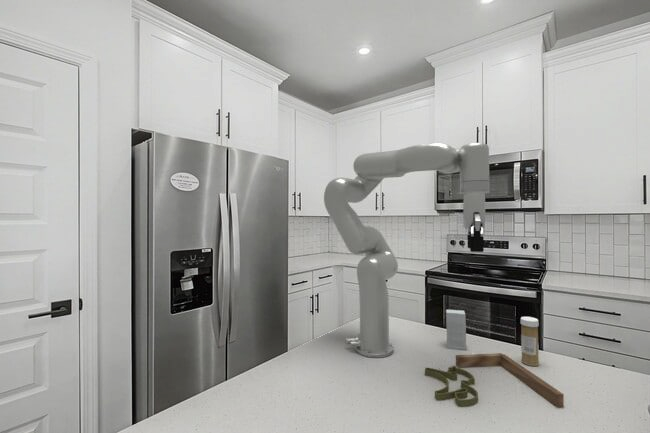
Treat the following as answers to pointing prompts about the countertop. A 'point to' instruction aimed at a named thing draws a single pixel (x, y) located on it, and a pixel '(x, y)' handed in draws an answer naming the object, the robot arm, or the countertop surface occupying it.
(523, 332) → the sprinkles bottle
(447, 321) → the skincare box
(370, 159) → the robot arm
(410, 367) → the countertop surface
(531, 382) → the walnut fence
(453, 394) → the cookie cutter
